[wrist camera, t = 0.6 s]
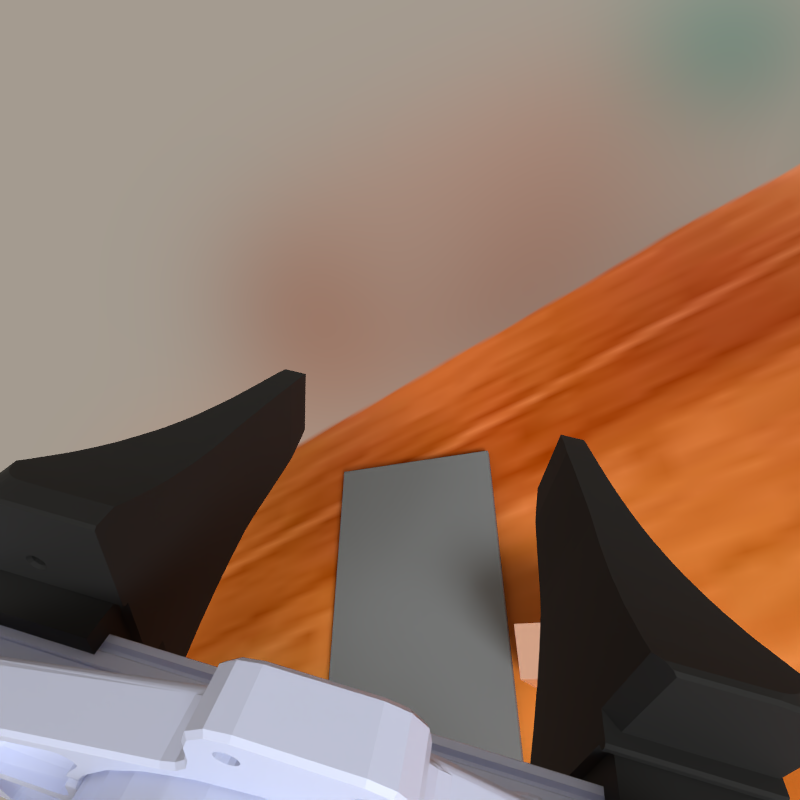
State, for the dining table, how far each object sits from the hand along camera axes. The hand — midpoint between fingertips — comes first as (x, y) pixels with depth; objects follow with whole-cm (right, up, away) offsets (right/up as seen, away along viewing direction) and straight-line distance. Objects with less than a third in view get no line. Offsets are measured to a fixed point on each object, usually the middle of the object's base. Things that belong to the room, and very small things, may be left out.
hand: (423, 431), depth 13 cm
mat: (0, -11, +14) cm, 18 cm away
